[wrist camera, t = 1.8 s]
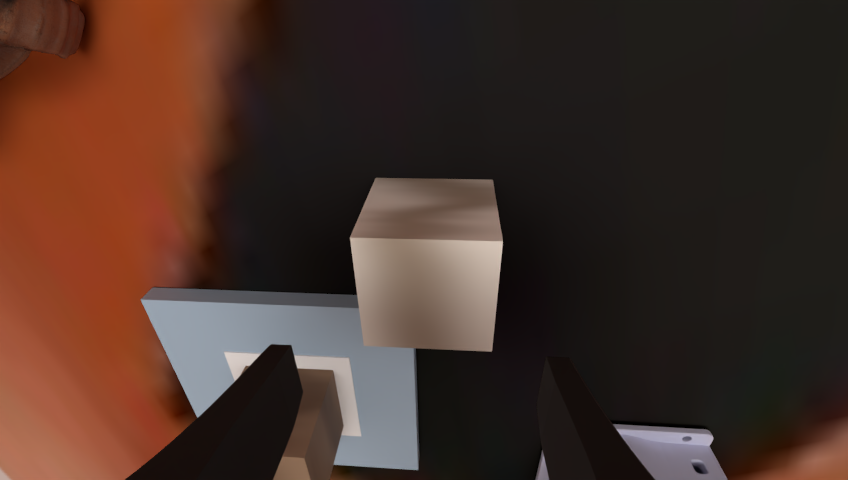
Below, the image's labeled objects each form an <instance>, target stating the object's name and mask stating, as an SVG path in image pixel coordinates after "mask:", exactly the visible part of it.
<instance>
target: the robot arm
mask: <svg viewBox="0 0 848 480" xmlns="http://www.w3.org/2000/svg"><path fill="white" fill-rule="evenodd" d="M302 395H303V389H302V385H301V381H300V377H299V373H298V369H297V365H296V361H295V357H294V353H293V350H292V346H291V345H278V344H271V345H269V346H268V347H267V348H266V349H265V350H264V351H263V352H262V353H261V354H260V356H259V357H258V358H257V359H256V360H255V361H254V362H253V363H252V364H251V365H250V366H249V367H248V368H247V369H246V370H245V371H244V372H243V373H242V374H241V375H240V376H239V377H238V379H237V380H236V381H235V382H234V383H233V384H232V385H231V386H230V387H229V388H228V389H227V390H226V391H225V392H224V393H223V394H222V395H221V396H220V397H219V398H218V399H217V400H216V401H215V402H214V403H213V404H212V405H211V406H210V407H209V408H208V409H207V410H206V411H204V412H203V413H202V414H201V415H200V416H199V417H198V418H197V419H196V420H195V421H194V422H193V423H192V424H190V425H189V426H188V427H187V428H186V429H185V430H184V431H183V432H182V433H181V434H180V435H179V436H177V437H176V438H175V439H174V440H173V441H172V442H171V443H169V444H168V445H167V446H166V447H165V448H164V449H162V450H161V451H160V452H159V453H158V454H157V455H155V456H154V457H153V458H152V459H150V460H149V461H148V462H147V463H146V464H144V465H143V466H142V467H141V468H139V469H138V470H137V471H136V472H134V473H133V474H132V475H130V476H129V477H128V478H126V479H125V480H273V479H274V476H275V474H276V471H277V469H278V466H279V464H280V461H281V459H282V456H283V454H284V451H285V449H286V446H287V444H288V441H289V438H290V436H291V433H292V431H293V428H294V425H295V421H296V418H297V414H298V411H299V407H300V403H301V399H302ZM536 405H537V414H538V424H539V432H540V440H541V445H542V453H541V458H540V462H539V466H538V470H537V475H536V479H535V480H727V478H726V476H725V474H724V472H723V470H722V468H721V467H720V465H719V463H718V461H717V459H716V457H715V455H714V454H713V452H712V450H711V448H710V444H711V442H712V441H713V436H712V434H711V432H710V431H709V430H706V429H692V428H674V427H657V426H639V425H622V424H612V422H611V421H610V420H609V418H608V417H607V415H606V414H605V412H604V411H603V409H602V408H601V407H600V405H599V404H598V402H597V401H596V399H595V397H594V396H593V394H592V393H591V391H590V390H589V388H588V387H587V385H586V383H585V382H584V380H583V379H582V377H581V375H580V374H579V372H578V370H577V369H576V367H575V365H574V364H573V362H572V361H571V360H570V359H569V358H563V357H546V359H545V364H544V369H543V374H542V379H541V384H540V389H539V394H538V399H537V404H536Z"/></svg>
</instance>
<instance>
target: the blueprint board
mask: <svg viewBox="0 0 848 480" xmlns="http://www.w3.org/2000/svg"><path fill="white" fill-rule="evenodd" d="M141 302H142V304H143V306H144V308H145V310H146V312H147V314H148V316H149V318H150V320H151V322H152V324H153V326H154V329H155V331H156V333H157V335H158V337H159V339H160V341H161V343H162V345H163V347H164V349H165V351H166V353H167V356H168V358H169V360H170V362H171V364H172V366H173V368H174V370H175V372H176V374H177V376H178V378H179V380H180V383H181V385H182V387H183V389H184V391H185V393H186V395H187V397H188V399H189V401H190V403H191V405H192V407H193V409H194V412H195V414H196V416H197V418H198V417H199V416H200V415H201V414H202V413H203V412H204V411H206V410H207V409H208V408H209V407H210V406H211V405H212V404H213V403H214V402H215V401H216V400H217V399H218V398H219V397H220V396H221V395H222V394H223V393H224V392H225V391H226V390H227V389H228V388H229V387H230V386H231V385H232V384H233V383H234V382H235V381H236V380H237V379H238V377H239V376H240V375H241V373H242V371H243V370H244V368H245V366H250V365H251V364H252V363H253V362H254V361H255V360H256V359H257V358H258V357H259V356H260V354H261V353H262V352H263V351H264V350H265V349H266V348H267V347H268V346H269V345H271V344H278V345H291V346H292V350H293V353H294V357H295V361H296V365H297V368H301V369H321V370H333V371H334V377H335V382H336V387H337V393H338V398H339V403H340V409H341V414H342V419H343V425H344V427H343V430H342V434H341V438H340V442H339V445H338V449H337V453H336V457H335V461H334V465H349V466H364V467H378V468H393V469H408V470H418V466H419V429H418V399H417V369H416V348H399V347H376V346H364V344H363V336H362V328H361V320H360V313H359V305H358V297H357V295H341V294H315V293H288V292H262V291H235V290H209V289H182V288H156V287H153V288H152V289H151V290H150V291H149V292H148V293H147V294H146V295H145V296H144V297H143V298H142V299H141Z"/></svg>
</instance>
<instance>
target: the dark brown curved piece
mask: <svg viewBox="0 0 848 480" xmlns="http://www.w3.org/2000/svg"><path fill="white" fill-rule="evenodd" d="M84 24H85V17H84V15H83V13H82V12H81V11H80V10H79V5H78V4H76V3H75V2H72V1H70V0H0V79H1V78H3V77H5V76H6V75H8V74H9V73H11V72H12V71H13V70H15V69H16V68H17V67H18V66H19V65H21V64H22V63H23V62H24V61H25V60H26V59H27V58H28V57H29V54H30V52H31V51H32V50H33V51H38V52H42V53H50V54H55V55H58V56H59V57H61V58H64V59H66V58H67V57H68V56H69V55H72V54H74V53H76V51H77V49H78V47H79V44H80V41H81V37H82V33H83V28H84Z"/></svg>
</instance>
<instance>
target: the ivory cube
mask: <svg viewBox="0 0 848 480" xmlns="http://www.w3.org/2000/svg"><path fill="white" fill-rule="evenodd" d="M350 242H351V250H352V258H353V266H354V274H355V281H356V289H357V297H358V305H359V313H360V320H361V328H362V336H363V344H364V346H376V347H399V348H422V349H444V350H467V351H490V352H492V346H493V336H494V326H495V316H496V306H497V296H498V286H499V277H500V267H501V257H502V247H503V238H502V232H501V226H500V221H499V215H498V209H497V203H496V197H495V191H494V185H493V180H476V179H413V178H375V180H374V183H373V185H372V187H371V190H370V192H369V194H368V197H367V199H366V201H365V204H364V206H363V208H362V211H361V213H360V215H359V218H358V220H357V222H356V225H355V227H354V229H353V232H352V234H351V236H350Z"/></svg>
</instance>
